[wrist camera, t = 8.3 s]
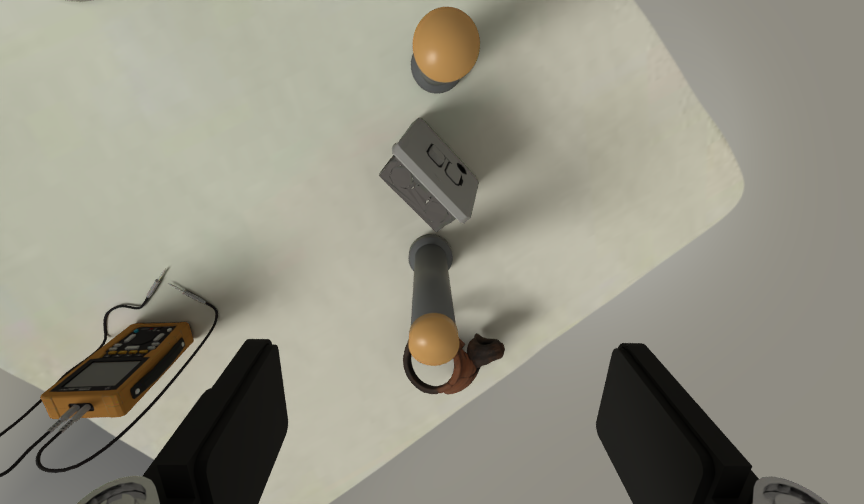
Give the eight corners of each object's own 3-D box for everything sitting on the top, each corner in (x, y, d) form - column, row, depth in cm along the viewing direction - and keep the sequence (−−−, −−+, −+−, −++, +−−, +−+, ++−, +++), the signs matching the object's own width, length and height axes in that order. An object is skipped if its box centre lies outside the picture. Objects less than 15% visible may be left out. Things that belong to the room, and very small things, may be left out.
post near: (411, 36, 38) (402, -8, 22) (463, 38, 39) (494, -5, 22) (411, 92, 40) (401, 91, 23) (460, 94, 40) (486, 94, 24)
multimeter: (207, 266, 47) (65, 379, 28) (225, 338, 50) (110, 481, 32) (81, 269, 47) (-147, 386, 28) (108, 342, 50) (-77, 488, 32)
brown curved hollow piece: (437, 386, 54) (410, 411, 47) (415, 319, 55) (385, 333, 48) (521, 367, 50) (506, 390, 42) (496, 294, 51) (476, 304, 43)
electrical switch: (479, 180, 44) (485, 208, 35) (445, 211, 45) (442, 244, 37) (419, 114, 41) (410, 128, 33) (385, 149, 43) (368, 171, 34)
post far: (409, 233, 46) (400, 315, 29) (453, 234, 46) (469, 316, 29) (408, 273, 48) (400, 371, 31) (450, 274, 48) (465, 372, 31)
